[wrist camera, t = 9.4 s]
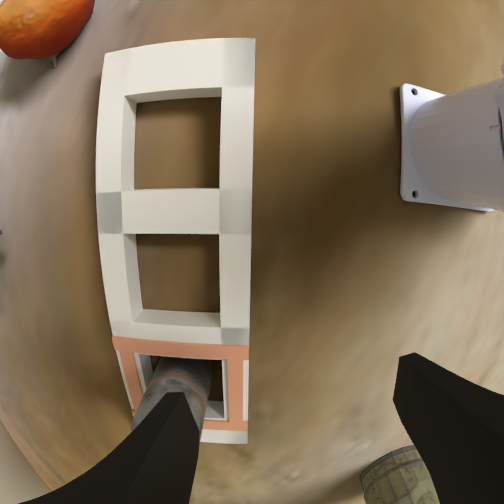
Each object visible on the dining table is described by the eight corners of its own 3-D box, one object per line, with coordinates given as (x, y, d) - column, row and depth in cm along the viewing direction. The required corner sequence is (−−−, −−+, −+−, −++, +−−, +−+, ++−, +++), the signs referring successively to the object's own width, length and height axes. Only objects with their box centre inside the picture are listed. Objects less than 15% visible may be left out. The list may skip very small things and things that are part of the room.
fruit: (-5, 77, 13) (-32, 9, 5) (61, 22, 15) (53, -45, 8) (46, 101, 14) (17, 11, 6) (119, 37, 16) (121, -45, 9)
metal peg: (204, 341, 20) (185, 411, 13) (219, 384, 21) (209, 455, 14) (152, 348, 20) (119, 412, 13) (171, 389, 21) (148, 455, 14)
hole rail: (254, 51, 15) (255, 36, 13) (247, 427, 22) (247, 445, 20) (117, 63, 15) (104, 52, 13) (145, 418, 22) (139, 435, 20)
